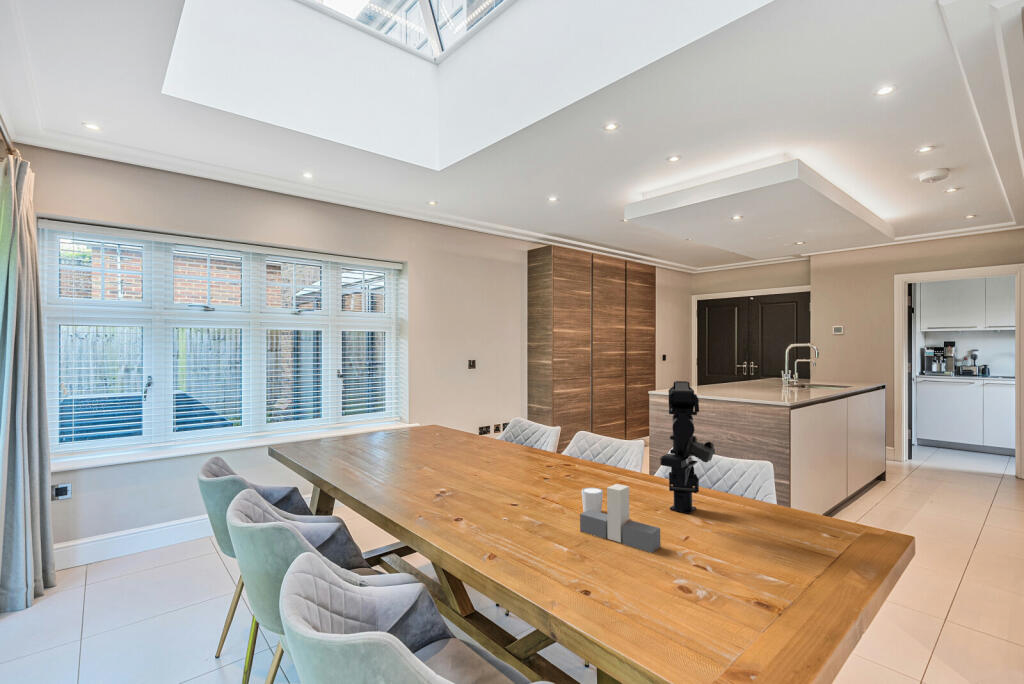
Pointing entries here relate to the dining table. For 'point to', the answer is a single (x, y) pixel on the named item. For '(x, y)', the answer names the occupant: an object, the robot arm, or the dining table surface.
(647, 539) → the grey blocks
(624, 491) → the peg block
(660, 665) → the dining table surface
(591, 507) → the shot glass
